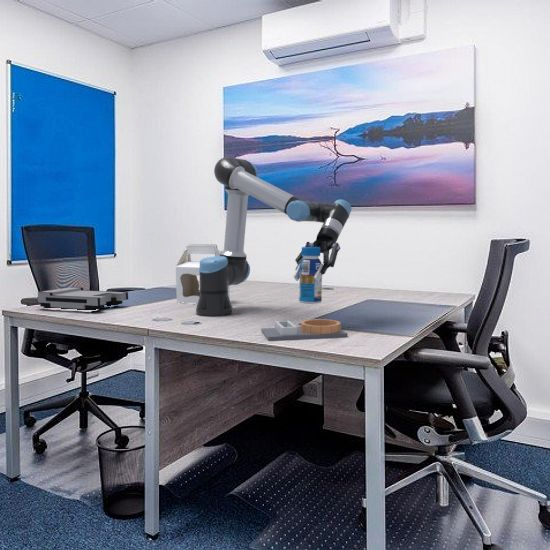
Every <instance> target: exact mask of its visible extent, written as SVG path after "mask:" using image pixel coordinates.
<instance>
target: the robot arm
mask: <svg viewBox="0 0 550 550" xmlns="http://www.w3.org/2000/svg"><path fill="white" fill-rule="evenodd" d="M213 171H214V172H213V173H214V176H215V179H216V180H217V182H219V183H220V184H221V185H223V186H224V187H225V188H224V190H225V192H226V193H227V206H226V216H225V217H226V220H225V231H224V245H223V246H224V247H223V250H221V251H222V252H221V253H220V256H215V255H214V256H209V257H208V256H207V257H203V258H202V259H200V261H199V262H200V267H199V272H200V275H199V292H200V297H199V300H198V304H196V308H195V313H196V314H195V315H197V316H204V317H205V316H206V317H219V315H221V316H228V315H231V314H233V312H234V311H233V305H232V302H231V299H229V296H228V286H229V287H230V286H235V285H236V286H237V285H239V284H242V283H244V282H245V281H247V280H248V278H249V276H250V273H251V266H250V263H249V262H248V261H247V254H246V253H245V251H244V250H245V239H246V238H245V235H246V225H247V213H248V201H249V196H251V197H252V198H255V199H256V200H258V201H260V202H262V203H263V204H266V205H267V206H270V207H272V208H273V209H275V210H277V211H279V212H281V213H283V214H284V215H286V216H287V217H288V218H289V219H290V220H292V221H294V222H298V223H300V222H314V223H322V225H321V227H320V229H319V232H318V233H317V234H316V239H315V240H314V241H313V242H310V241H306V243H305V246H304V247H320V254H323V255H322V257H323V261H322V264H321V265H320V267H319V269H318V271H317V273H316V275H315V277H314V278H315V280H316V282H317V283H319V281H320V279H321V277H322V278H323V275H326V272H327V270H328V269H329V268H334V267H335V263H336V260H337V256H338V253H339V251H340V249H341V246H340V243H339V242H337V241H338V239H339V237H340V235H341V233H342V231H343V230H344V227H345V225H346V223H347V221H348V219H349V218H350V215H351V212H352V206H351V204H350V203H349V202H348V201H347V200H345V199H337V200H335V201H334V202H333V204H330V203H322V202H317V201H316V202H315V201H308V200H307V201H305V200H303V199H301V198H299V197H296V196H295V195H293V194H291V193H289V192H287V191H286V190H284V189H283V190H282V189H281V188H279V187H277V186H275V185H273V184H272V183H269V182H267V181H266V180H263V179H262V178H260V177H259V172H258V168H257V167H256V166H255V164H254V162H253V163H252V162H251V161H250V160H246V159H243V158H237V157H232V156H224V157H222V158H220V159H219V160H218V161H217V162H216V164H215V165H214V169H213ZM330 251H331V252H330ZM303 257H304V256H302V250H301V252H300V253H299V254H298V255H297V257H296V258H295V262H296V264H297V265H296V267H295V272H294V274H293V275H292V276H293V278H294V279H295V281H296V282H298V281H300V276H299V271H300V267H299V265H300V262H301V260H302V259H303Z"/></svg>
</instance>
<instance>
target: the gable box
mask: <svg viewBox="0 0 550 550" xmlns="http://www.w3.org/2000/svg"><path fill="white" fill-rule="evenodd" d="M185 247H186V250H183V253H182V255H181V257H180V259H179V260H178V262H177V264H176V266H175V283H176V284H175V285H176V286H175V289H176V303H177V302H184V303H183V304H185V303H196V304H195V305H197V304H198V300H199V297H200V281H199V280H198V277H197V276H200V272H199V267H200V261H192V257H191V255H193V254H195V255H197V254H199V255H214V256H220V253H221V252H222V251H223V250H219V249H218V245H217V244H216V243H213V244H211V243H210V244H209V243H189V244H188V245H187V246H185ZM228 296H229V299H230V298H231V297H230V286H228ZM230 300H231V299H230Z"/></svg>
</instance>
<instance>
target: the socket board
mask: <svg viewBox="0 0 550 550" xmlns="http://www.w3.org/2000/svg"><path fill="white" fill-rule="evenodd" d="M341 327H342V322H341V321H339V320H335V319H328V318H327V319H326V318H325V319H324V318H318V319H317V318H314V319H313V318H312V319H305V320H302V321H301V322H300V326H297V325H295V324H294V323H293V322H291V320H275V321H274V327H263V328H262V327H261V328H260V330H261V331H260V332H261V334H262V335H263V334H264V335H263V336H264V337H265V338H266V339H267V341H268V342H269V341H270V342H271V341H290V340H309V339H311V340H312V339H333V338H348V332H346V331H344V330H343V329H342V328H341Z"/></svg>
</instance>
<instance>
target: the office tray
mask: <svg viewBox="0 0 550 550" xmlns="http://www.w3.org/2000/svg"><path fill="white" fill-rule="evenodd" d="M127 300H129V292H128V291H113V290H111V291H108V290H89V289H88V290H87V289H84V287H79V286H78V287H77V286H71V287H64V288H57V289H51V290H43V291H38V292H37V303H39V307H42V308H43V309H44V308H61V309H77V310H96V309H99V310H100V309H105V308H104V305H107V306H111V305H118V306H119V305H122V304H123V303H124V302H123V301H127Z"/></svg>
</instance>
